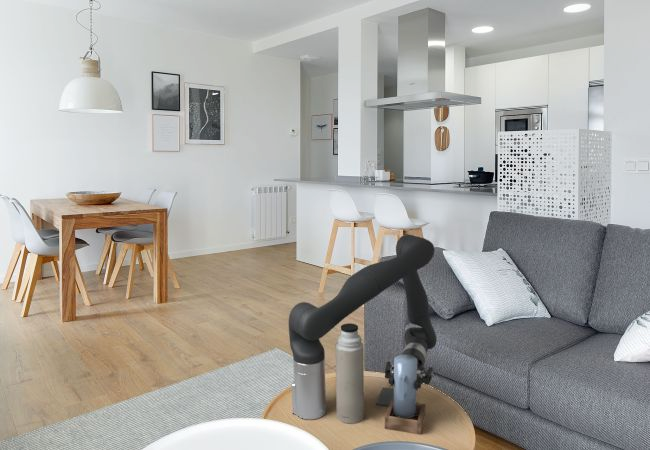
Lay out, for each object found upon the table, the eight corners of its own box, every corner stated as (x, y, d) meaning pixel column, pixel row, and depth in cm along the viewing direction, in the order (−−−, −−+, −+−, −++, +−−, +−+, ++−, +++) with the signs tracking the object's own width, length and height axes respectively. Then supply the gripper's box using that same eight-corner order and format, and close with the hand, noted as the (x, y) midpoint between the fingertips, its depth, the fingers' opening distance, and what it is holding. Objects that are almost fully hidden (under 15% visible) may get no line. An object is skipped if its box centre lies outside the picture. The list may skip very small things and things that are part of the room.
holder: (384, 428, 146) (384, 417, 145) (391, 409, 155) (391, 399, 154) (420, 434, 142) (420, 422, 142) (425, 415, 152) (425, 404, 151)
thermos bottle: (331, 417, 152) (329, 327, 146) (347, 405, 158) (346, 318, 152) (353, 426, 147) (352, 333, 141) (369, 414, 153) (368, 324, 147)
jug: (389, 421, 143) (390, 367, 140) (395, 404, 152) (396, 353, 149) (412, 425, 141) (414, 371, 138) (417, 407, 150) (418, 356, 147)
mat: (376, 404, 158) (376, 403, 158) (382, 388, 167) (382, 387, 167) (409, 409, 155) (409, 407, 155) (414, 393, 164) (414, 391, 164)
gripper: (389, 344, 161) (378, 368, 145) (437, 350, 156) (430, 376, 141) (389, 367, 162) (378, 393, 147) (436, 373, 158) (429, 401, 142)
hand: (403, 384), depth 144 cm, fingers closed on jug, 6 cm apart
